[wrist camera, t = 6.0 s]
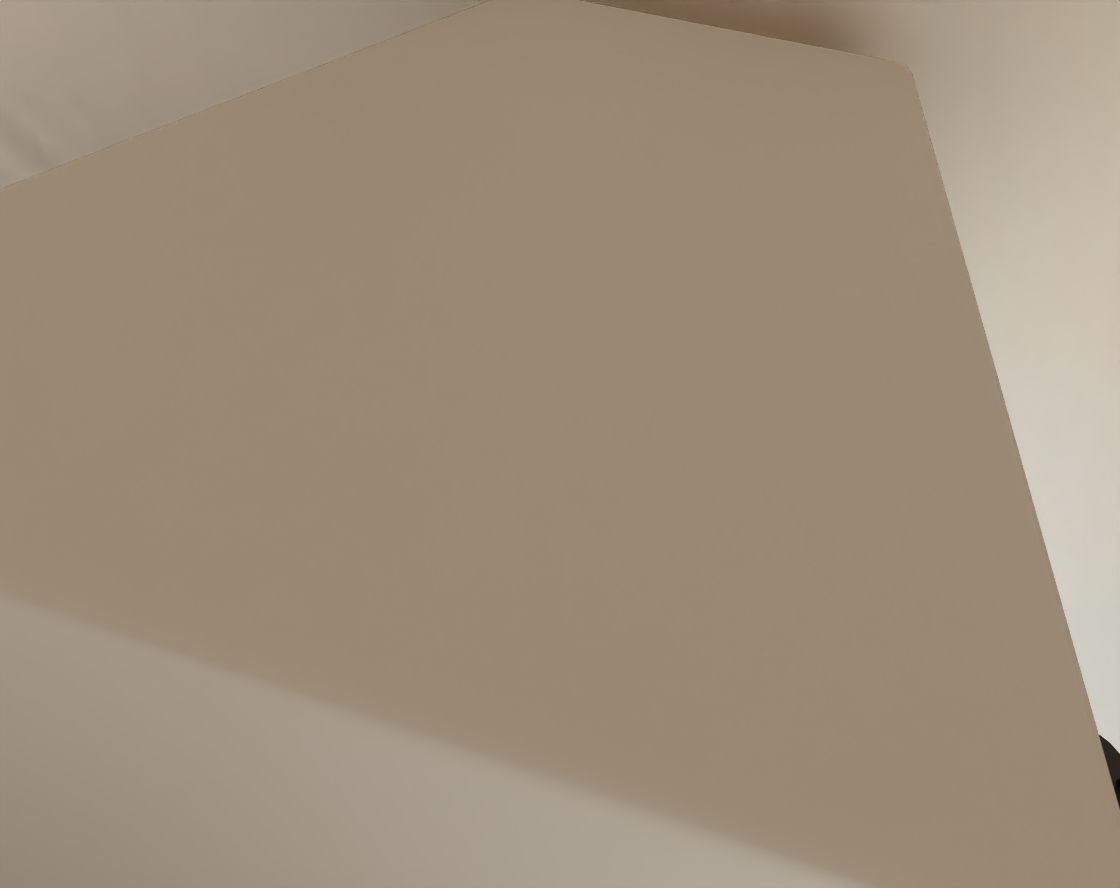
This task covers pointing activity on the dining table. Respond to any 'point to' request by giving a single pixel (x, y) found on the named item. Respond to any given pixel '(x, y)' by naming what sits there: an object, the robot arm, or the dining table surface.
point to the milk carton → (525, 489)
